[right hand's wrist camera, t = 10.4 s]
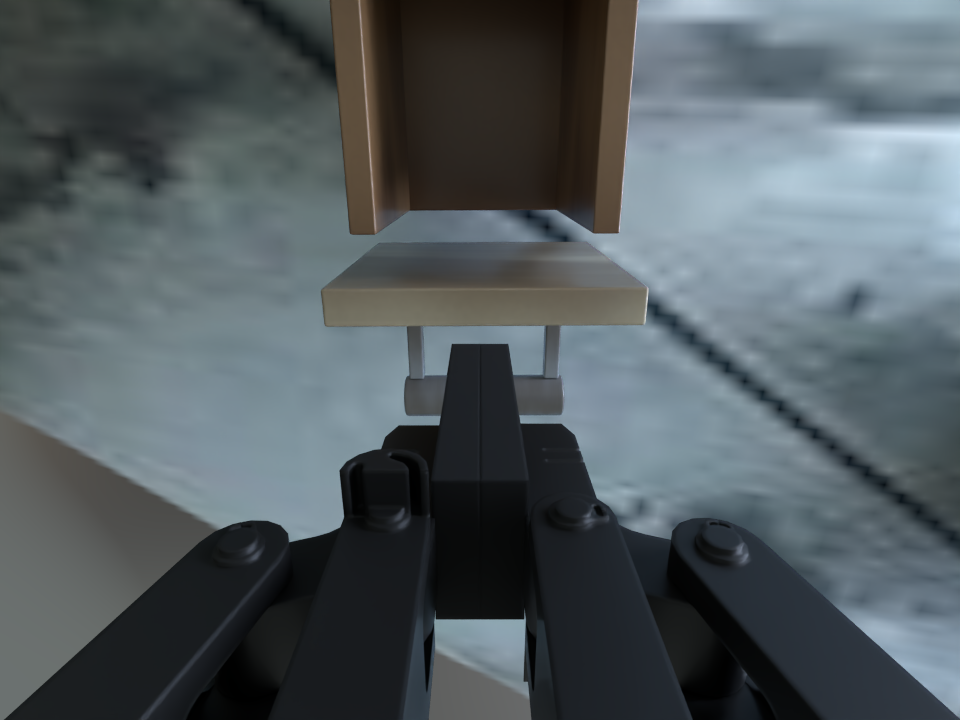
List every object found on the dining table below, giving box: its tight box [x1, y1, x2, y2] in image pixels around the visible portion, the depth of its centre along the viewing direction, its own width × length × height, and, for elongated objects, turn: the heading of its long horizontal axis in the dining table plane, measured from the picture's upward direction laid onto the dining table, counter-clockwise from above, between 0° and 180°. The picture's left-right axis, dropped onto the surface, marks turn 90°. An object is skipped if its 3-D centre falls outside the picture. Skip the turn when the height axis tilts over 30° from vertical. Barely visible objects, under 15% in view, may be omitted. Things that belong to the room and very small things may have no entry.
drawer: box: [321, 0, 649, 416], centre depth 19 cm, size 26×10×10 cm, turn 0°
